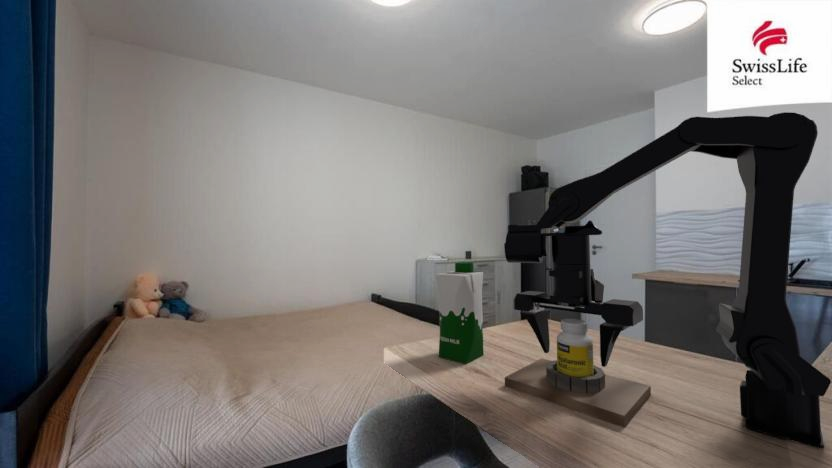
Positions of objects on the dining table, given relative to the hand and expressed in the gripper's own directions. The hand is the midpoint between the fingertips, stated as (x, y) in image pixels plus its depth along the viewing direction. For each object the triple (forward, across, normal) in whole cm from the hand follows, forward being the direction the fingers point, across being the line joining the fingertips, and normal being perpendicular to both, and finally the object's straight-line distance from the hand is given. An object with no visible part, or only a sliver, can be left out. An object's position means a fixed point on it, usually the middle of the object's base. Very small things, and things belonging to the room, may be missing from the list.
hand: (573, 358), depth 55 cm
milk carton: (+5, +24, 0) cm, 25 cm away
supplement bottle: (+4, 0, 0) cm, 4 cm away
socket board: (+5, 0, 0) cm, 5 cm away
